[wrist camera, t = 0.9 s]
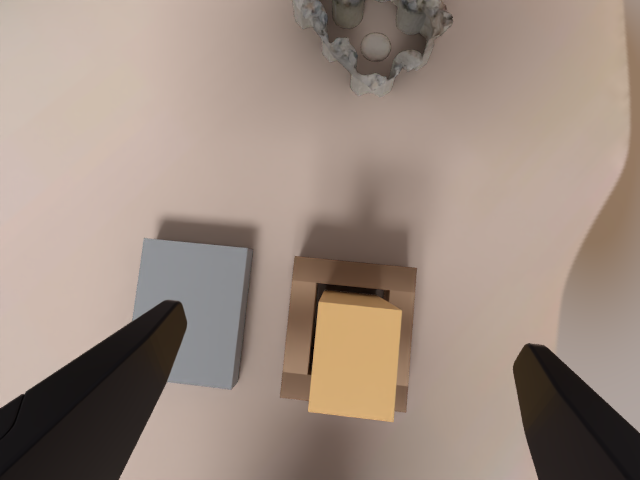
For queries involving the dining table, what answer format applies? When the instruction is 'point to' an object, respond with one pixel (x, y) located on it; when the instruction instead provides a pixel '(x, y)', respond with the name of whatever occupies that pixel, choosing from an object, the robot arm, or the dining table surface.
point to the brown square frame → (303, 306)
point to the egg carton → (375, 37)
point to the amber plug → (355, 356)
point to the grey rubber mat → (199, 305)
